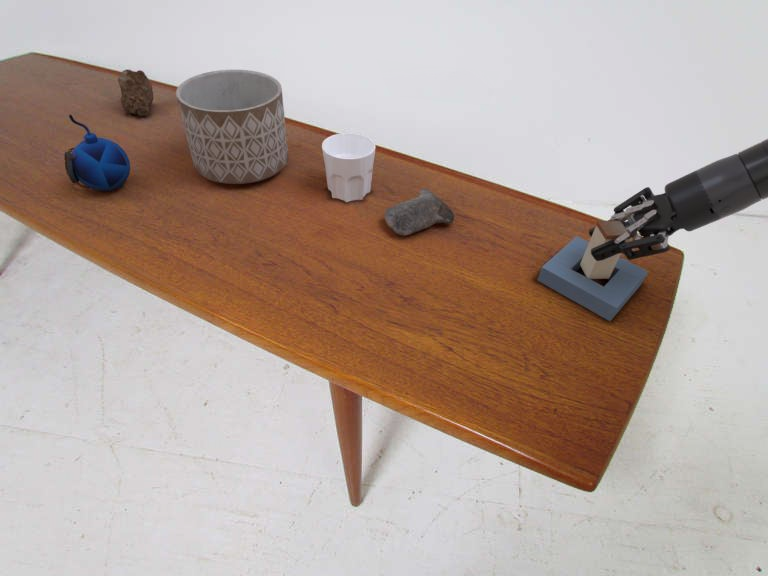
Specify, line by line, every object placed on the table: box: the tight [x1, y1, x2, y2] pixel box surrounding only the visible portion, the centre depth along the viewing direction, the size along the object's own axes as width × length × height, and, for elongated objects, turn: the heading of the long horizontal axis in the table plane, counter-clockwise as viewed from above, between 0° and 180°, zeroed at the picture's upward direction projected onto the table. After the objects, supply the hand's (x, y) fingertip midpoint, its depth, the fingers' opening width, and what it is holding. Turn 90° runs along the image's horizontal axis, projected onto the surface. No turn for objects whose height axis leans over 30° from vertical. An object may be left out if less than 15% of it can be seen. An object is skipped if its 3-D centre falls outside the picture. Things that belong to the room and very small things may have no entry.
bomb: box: [64, 114, 131, 192], centre depth 92 cm, size 10×11×15 cm
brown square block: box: [580, 220, 628, 280], centre depth 79 cm, size 4×4×9 cm
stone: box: [384, 188, 455, 237], centre depth 93 cm, size 12×5×10 cm
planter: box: [175, 69, 289, 185], centre depth 100 cm, size 19×19×16 cm
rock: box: [117, 69, 154, 118], centre depth 119 cm, size 10×6×10 cm
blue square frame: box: [536, 235, 649, 322], centre depth 83 cm, size 13×12×3 cm
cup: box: [321, 132, 377, 203], centre depth 97 cm, size 10×10×10 cm
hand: (592, 245), depth 79 cm, fingers closed on brown square block, 4 cm apart
